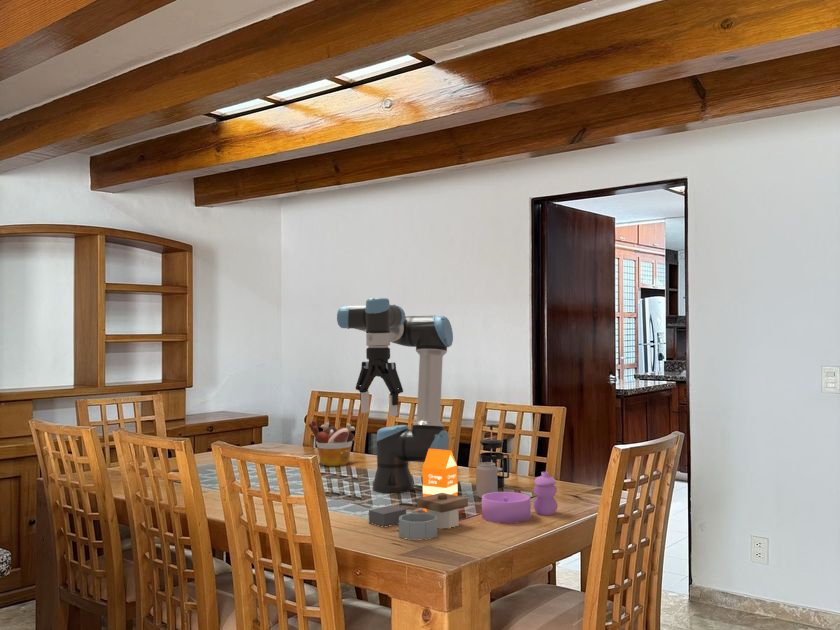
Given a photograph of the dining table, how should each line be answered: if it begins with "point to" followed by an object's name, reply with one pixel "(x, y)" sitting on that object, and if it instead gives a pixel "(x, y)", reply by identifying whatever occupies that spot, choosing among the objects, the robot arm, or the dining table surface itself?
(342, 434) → the bucket of meat
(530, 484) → the dining table surface
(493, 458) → the french press
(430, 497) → the lid
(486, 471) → the can
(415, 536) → the grey bowl
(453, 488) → the orange juice
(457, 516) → the bowl
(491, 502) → the container set
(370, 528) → the dining table surface
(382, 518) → the grey rectangular block
